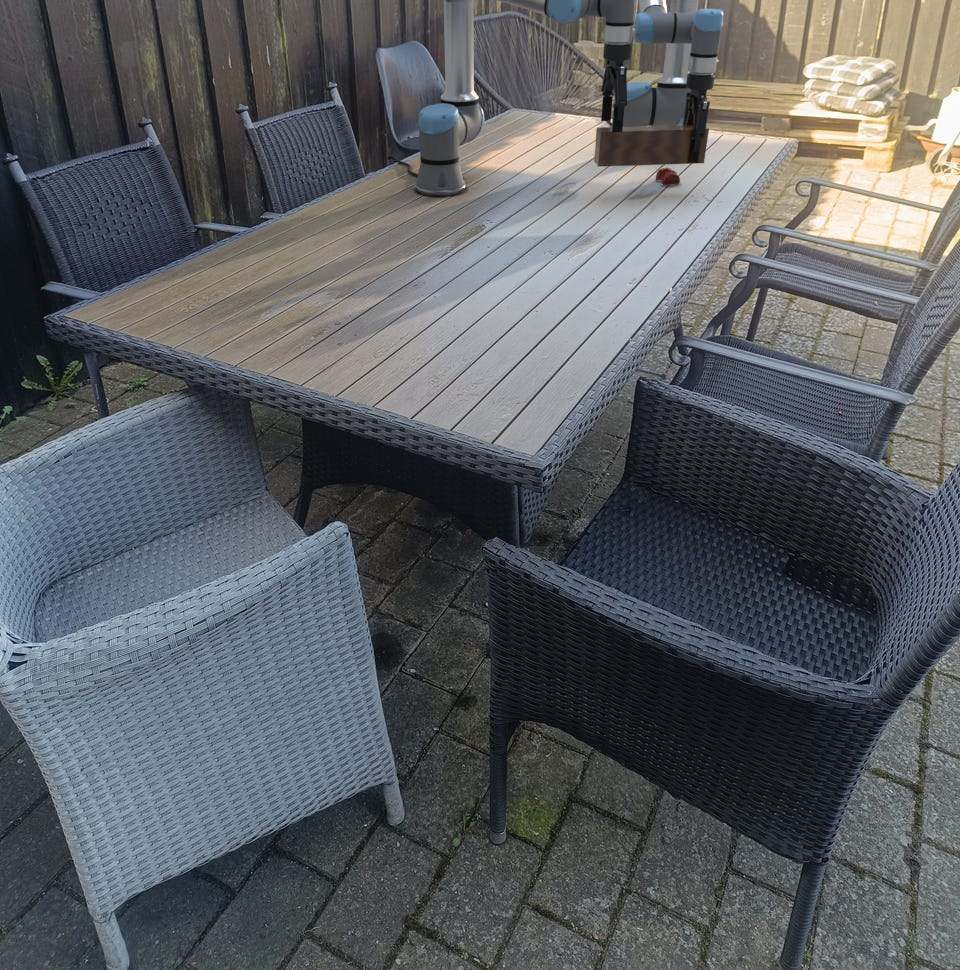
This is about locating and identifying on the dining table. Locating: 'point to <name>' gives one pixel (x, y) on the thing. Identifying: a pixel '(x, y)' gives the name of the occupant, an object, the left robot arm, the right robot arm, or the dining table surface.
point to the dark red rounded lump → (668, 176)
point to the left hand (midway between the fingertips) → (611, 126)
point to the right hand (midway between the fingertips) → (689, 159)
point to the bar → (646, 145)
